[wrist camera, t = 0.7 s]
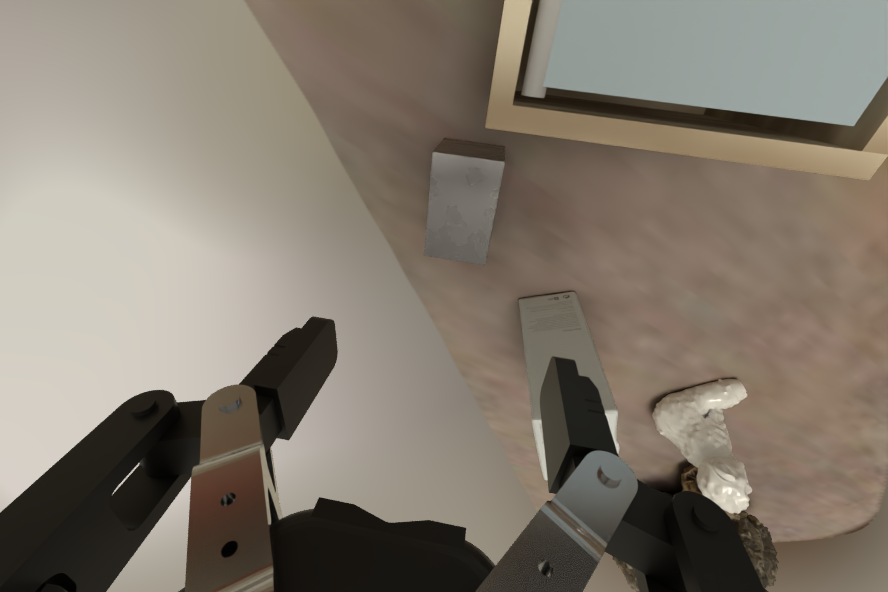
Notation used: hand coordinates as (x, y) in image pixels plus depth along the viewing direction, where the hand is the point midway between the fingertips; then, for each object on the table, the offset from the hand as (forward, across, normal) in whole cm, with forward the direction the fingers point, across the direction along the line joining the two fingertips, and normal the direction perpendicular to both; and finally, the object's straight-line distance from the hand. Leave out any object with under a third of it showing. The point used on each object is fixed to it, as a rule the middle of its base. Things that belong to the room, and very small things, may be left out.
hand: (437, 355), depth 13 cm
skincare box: (+22, -10, +13) cm, 28 cm away
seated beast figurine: (+23, -28, +21) cm, 42 cm away
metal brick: (+22, +1, 0) cm, 22 cm away
